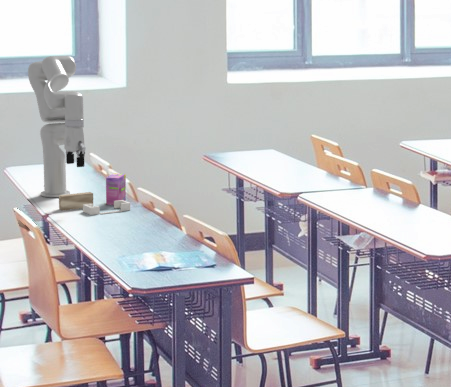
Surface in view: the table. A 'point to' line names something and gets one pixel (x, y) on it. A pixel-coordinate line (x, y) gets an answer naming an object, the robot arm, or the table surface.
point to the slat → (75, 200)
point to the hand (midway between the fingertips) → (75, 165)
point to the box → (115, 188)
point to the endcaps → (96, 210)
